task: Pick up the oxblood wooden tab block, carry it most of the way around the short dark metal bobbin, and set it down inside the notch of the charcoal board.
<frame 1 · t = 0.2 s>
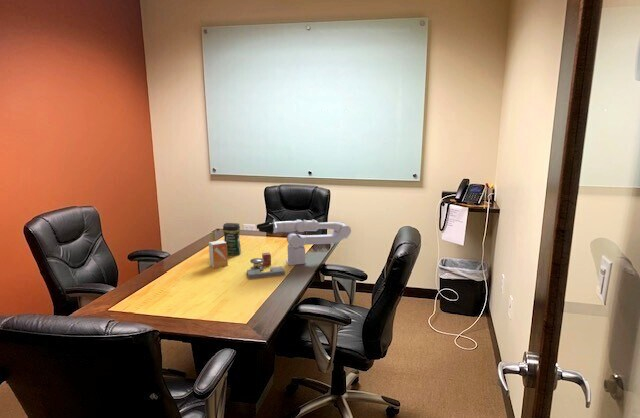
hand: (257, 227, 225), 21 cm above the table, tool horizontal, fingers open, 7 cm apart
small box: (219, 265, 231), on the table
notched board: (265, 274, 216), on the table
coffee jar: (232, 254, 251), on the table
bobbin: (257, 269, 224), on the table
tab block: (266, 264, 232), on the table
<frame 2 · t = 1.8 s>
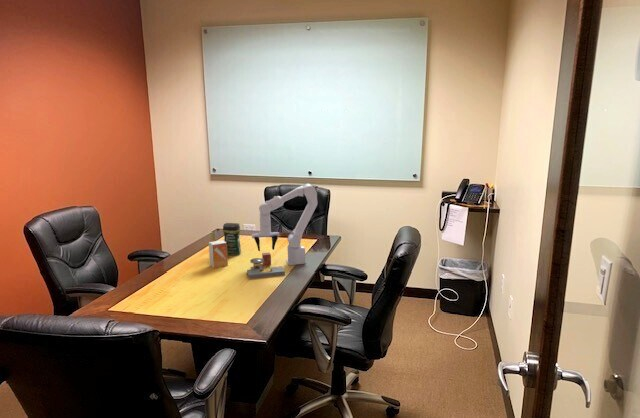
hand: (266, 249, 230), 8 cm above the table, tool pointing down, fingers open, 7 cm apart
nothing on the table moved.
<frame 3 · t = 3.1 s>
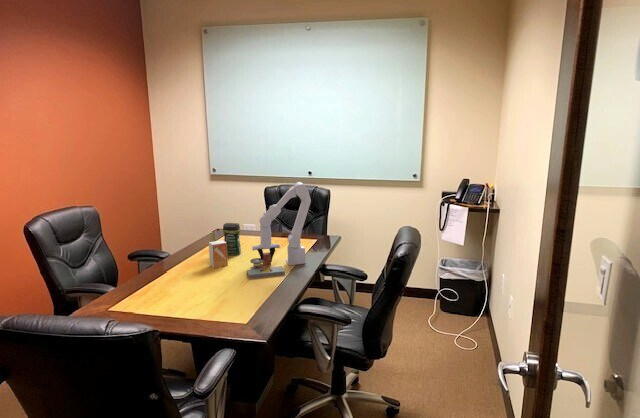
hand: (266, 261, 232), 1 cm above the table, tool pointing down, fingers closed on tab block, 4 cm apart
tab block: (266, 264, 232), on the table, touching gripper
everything else where it was.
when the fingers open (3 cm above the table, at t = 7.9 s): tab block drops 2 cm, on the table.
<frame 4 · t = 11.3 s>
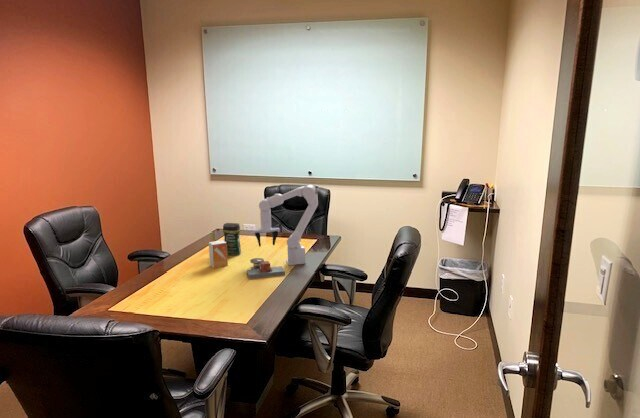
hand: (266, 245, 234), 9 cm above the table, tool pointing down, fingers open, 7 cm apart
tab block: (265, 273, 217), on the table
everything else where it was.
at the end: tab block 0.2 cm off-centre on the notched board, point 0.0 cm above the notched board's base; tab block tilted 0°; the gripper is holding nothing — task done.
